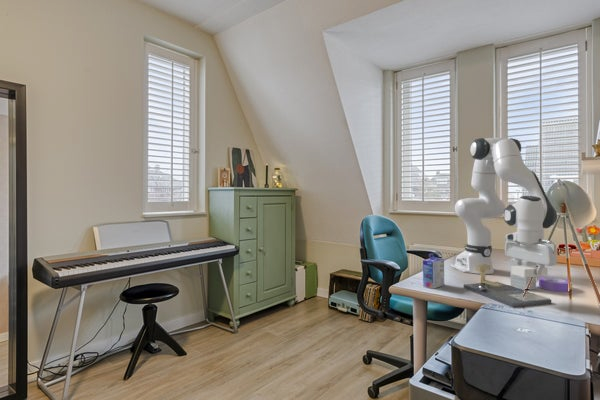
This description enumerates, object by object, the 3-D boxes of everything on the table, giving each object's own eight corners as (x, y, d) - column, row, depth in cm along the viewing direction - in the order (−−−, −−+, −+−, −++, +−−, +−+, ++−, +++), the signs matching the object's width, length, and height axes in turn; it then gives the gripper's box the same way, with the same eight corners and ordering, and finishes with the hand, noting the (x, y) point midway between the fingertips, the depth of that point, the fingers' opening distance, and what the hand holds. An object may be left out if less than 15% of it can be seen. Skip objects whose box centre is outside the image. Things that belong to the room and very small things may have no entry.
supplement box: (536, 288, 152) (537, 260, 151) (526, 290, 148) (526, 261, 148) (519, 284, 158) (520, 257, 158) (509, 286, 155) (510, 258, 155)
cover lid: (511, 273, 137) (511, 266, 137) (533, 272, 139) (533, 264, 139) (524, 277, 131) (524, 269, 131) (547, 275, 133) (547, 267, 133)
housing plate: (463, 287, 153) (463, 281, 153) (498, 284, 157) (498, 278, 157) (512, 307, 128) (512, 299, 128) (552, 303, 132) (552, 295, 132)
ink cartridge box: (433, 282, 161) (433, 252, 161) (444, 285, 157) (445, 253, 157) (422, 286, 155) (422, 254, 155) (433, 289, 151) (433, 256, 150)
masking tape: (535, 288, 153) (536, 279, 153) (541, 283, 161) (541, 275, 161) (568, 294, 144) (569, 285, 144) (573, 288, 153) (573, 280, 152)
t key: (485, 284, 147) (486, 263, 147) (504, 288, 140) (504, 267, 140) (475, 286, 144) (475, 265, 143) (494, 291, 137) (494, 269, 136)
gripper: (562, 241, 125) (561, 278, 126) (514, 234, 145) (514, 266, 146) (548, 241, 124) (547, 279, 124) (502, 234, 144) (501, 267, 144)
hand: (529, 272), depth 135 cm, fingers closed on cover lid, 6 cm apart
